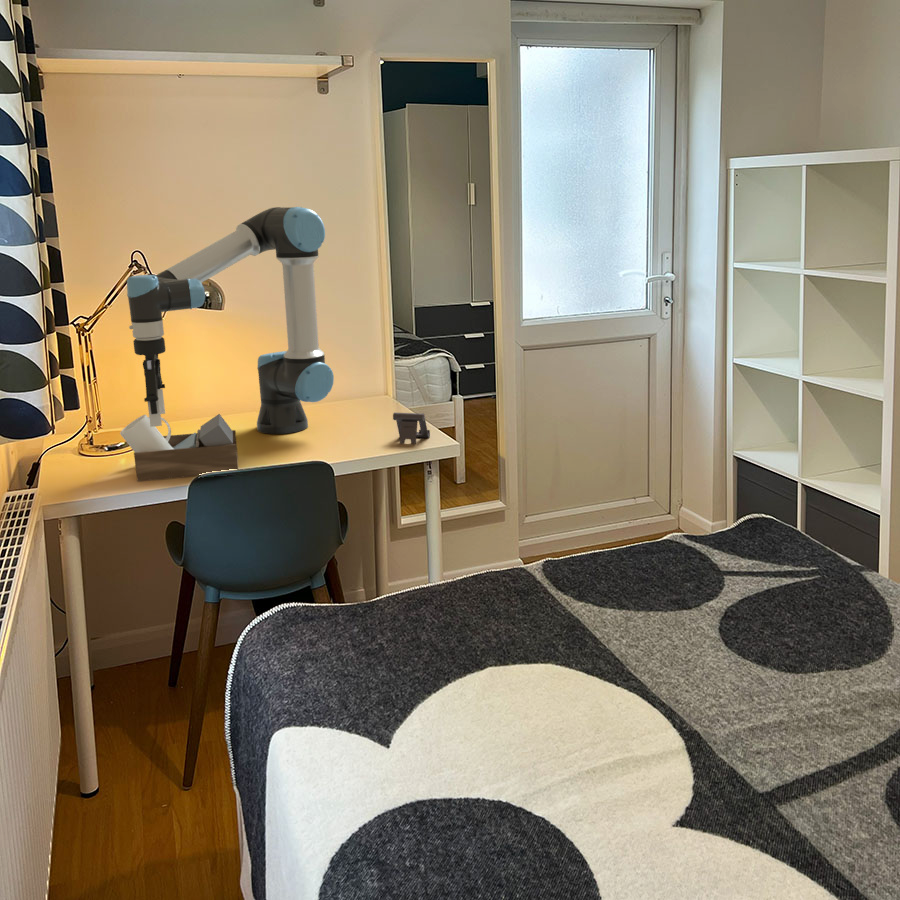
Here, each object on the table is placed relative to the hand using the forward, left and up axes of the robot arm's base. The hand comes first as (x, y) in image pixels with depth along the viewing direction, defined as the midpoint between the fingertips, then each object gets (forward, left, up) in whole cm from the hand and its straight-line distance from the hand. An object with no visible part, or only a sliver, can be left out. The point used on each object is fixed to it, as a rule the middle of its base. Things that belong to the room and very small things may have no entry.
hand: (158, 419), depth 254 cm
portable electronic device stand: (-10, +68, -14) cm, 70 cm away
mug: (-1, +1, -10) cm, 10 cm away
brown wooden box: (0, +7, -14) cm, 15 cm away
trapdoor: (0, +9, -12) cm, 15 cm away
